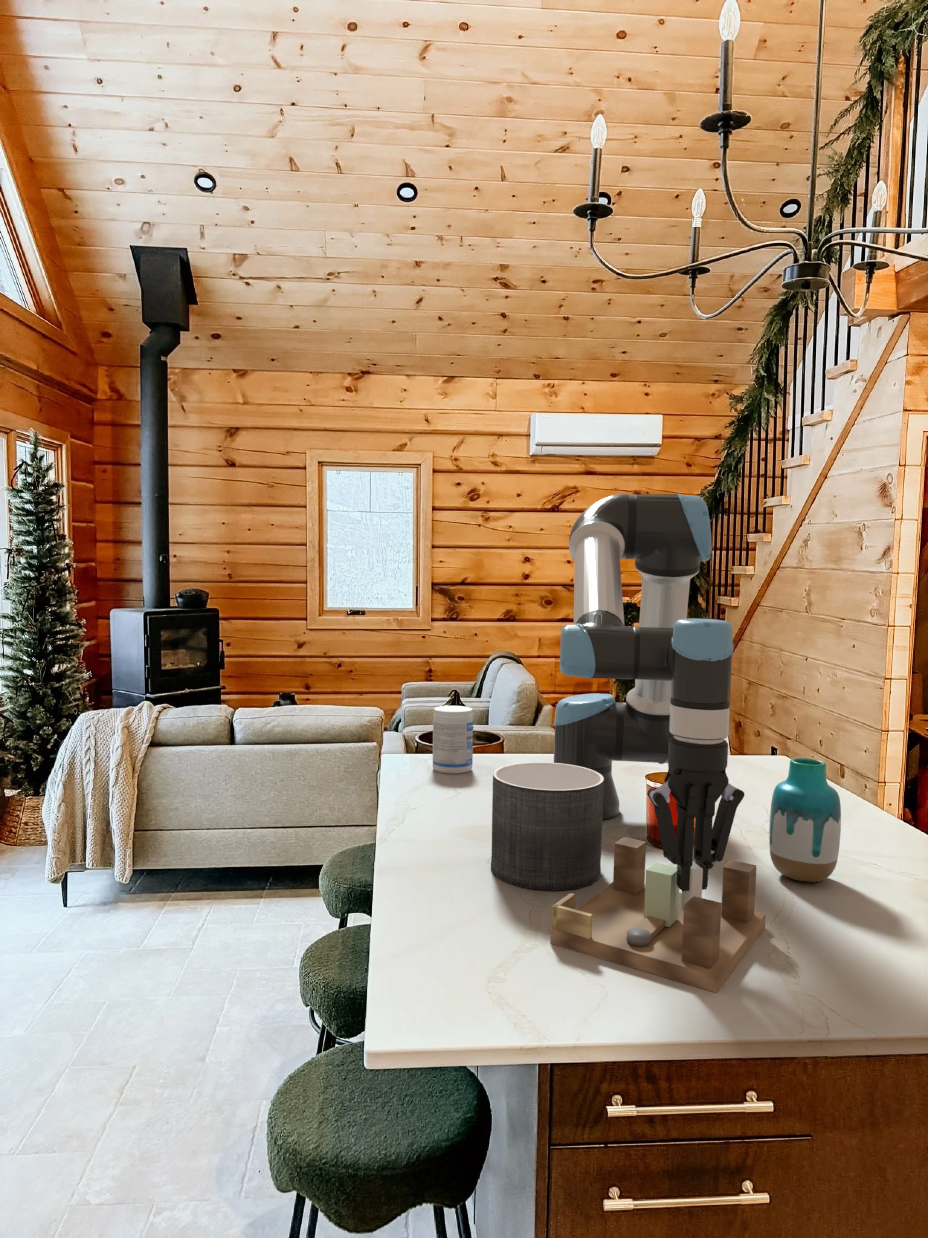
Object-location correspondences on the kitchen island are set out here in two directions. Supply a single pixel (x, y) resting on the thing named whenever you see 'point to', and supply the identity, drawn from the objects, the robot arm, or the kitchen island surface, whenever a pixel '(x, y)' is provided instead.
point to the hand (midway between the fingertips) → (690, 913)
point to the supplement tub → (452, 739)
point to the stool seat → (683, 951)
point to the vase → (805, 823)
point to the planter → (547, 825)
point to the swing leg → (657, 904)
